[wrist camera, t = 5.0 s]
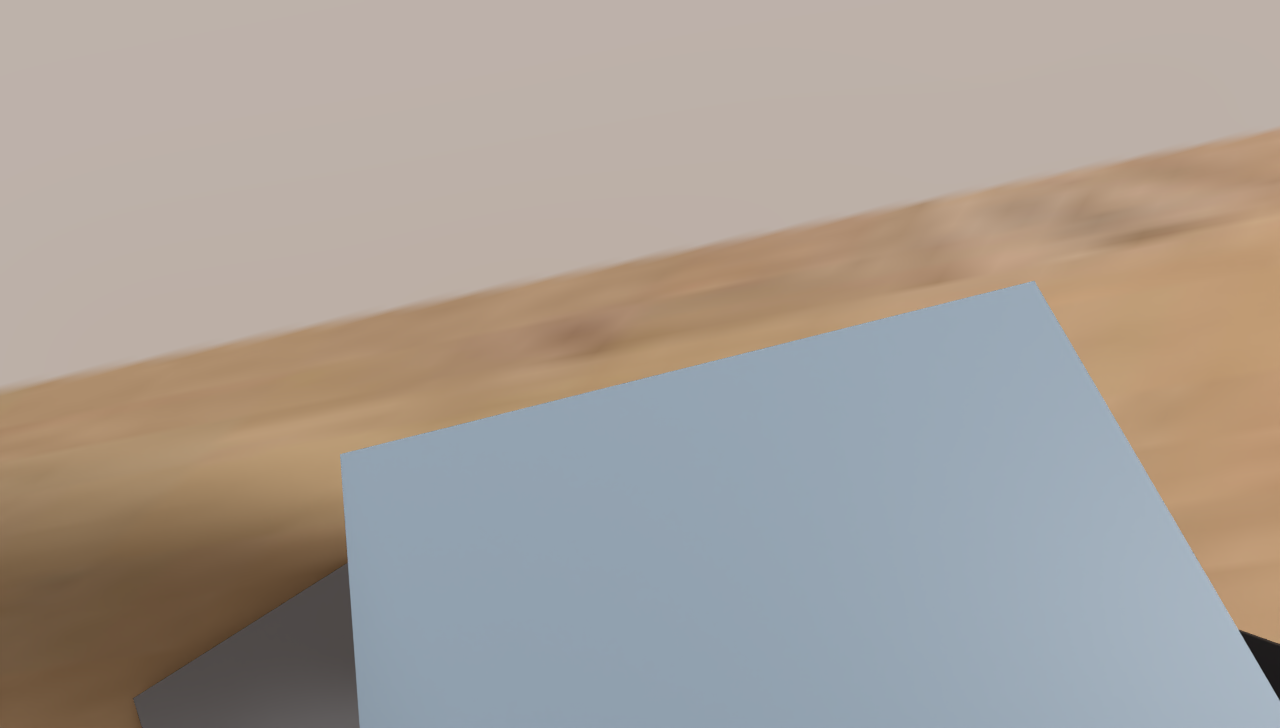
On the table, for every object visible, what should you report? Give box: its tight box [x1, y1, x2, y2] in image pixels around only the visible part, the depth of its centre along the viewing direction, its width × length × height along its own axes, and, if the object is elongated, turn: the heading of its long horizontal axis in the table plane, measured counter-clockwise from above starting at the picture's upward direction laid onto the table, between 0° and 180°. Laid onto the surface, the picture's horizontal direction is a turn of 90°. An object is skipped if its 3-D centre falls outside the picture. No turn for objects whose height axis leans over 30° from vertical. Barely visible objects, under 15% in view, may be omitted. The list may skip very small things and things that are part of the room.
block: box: [340, 281, 1280, 728], centre depth 9 cm, size 4×4×12 cm
